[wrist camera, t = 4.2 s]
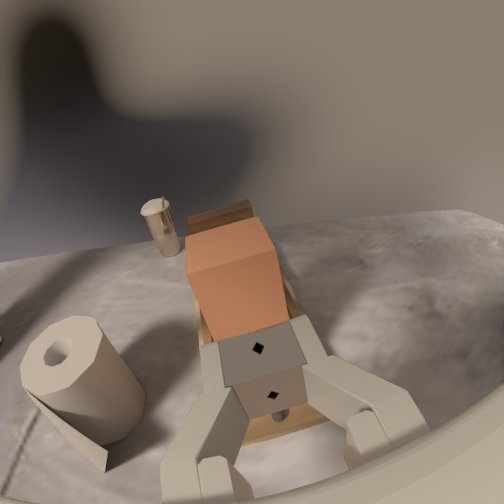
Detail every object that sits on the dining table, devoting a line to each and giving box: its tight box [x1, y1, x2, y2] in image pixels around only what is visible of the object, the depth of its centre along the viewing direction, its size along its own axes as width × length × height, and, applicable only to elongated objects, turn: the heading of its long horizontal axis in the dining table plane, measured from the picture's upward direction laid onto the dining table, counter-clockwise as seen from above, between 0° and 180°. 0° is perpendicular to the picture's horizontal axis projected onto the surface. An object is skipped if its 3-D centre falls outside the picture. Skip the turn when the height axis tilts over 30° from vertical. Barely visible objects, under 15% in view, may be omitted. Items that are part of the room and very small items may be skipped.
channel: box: [187, 200, 330, 446], centre depth 31 cm, size 27×11×8 cm, turn 11°
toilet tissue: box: [20, 315, 146, 473], centre depth 23 cm, size 9×13×9 cm
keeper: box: [185, 216, 289, 342], centre depth 24 cm, size 5×6×12 cm
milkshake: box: [141, 197, 181, 257], centre depth 47 cm, size 4×5×10 cm
